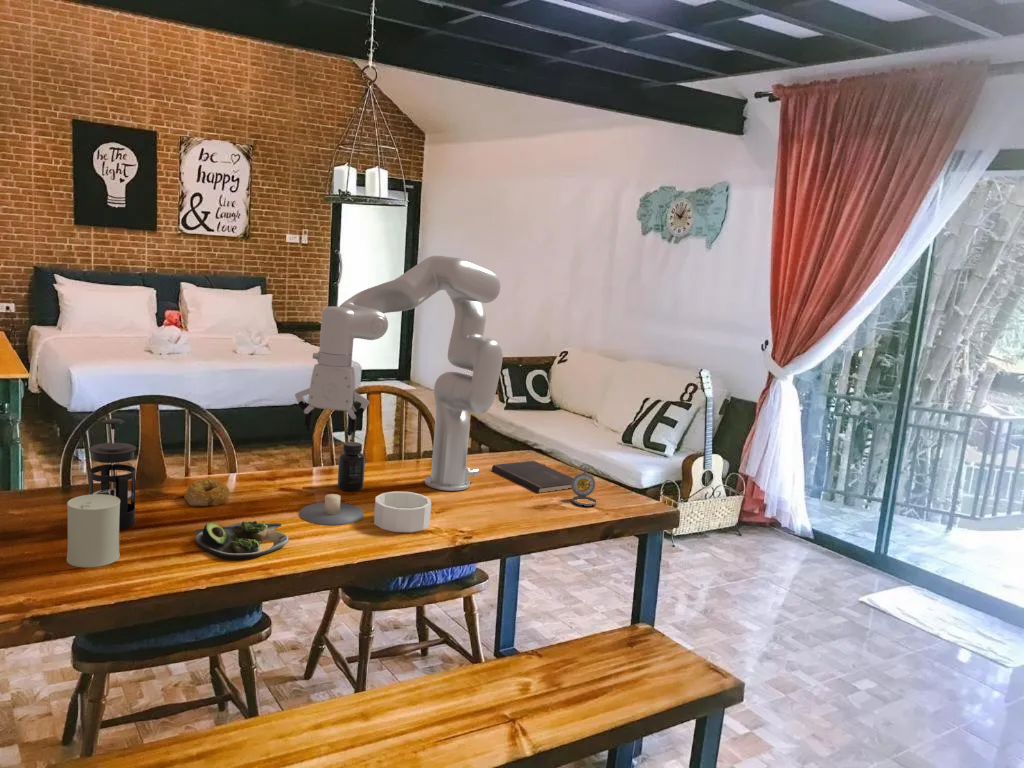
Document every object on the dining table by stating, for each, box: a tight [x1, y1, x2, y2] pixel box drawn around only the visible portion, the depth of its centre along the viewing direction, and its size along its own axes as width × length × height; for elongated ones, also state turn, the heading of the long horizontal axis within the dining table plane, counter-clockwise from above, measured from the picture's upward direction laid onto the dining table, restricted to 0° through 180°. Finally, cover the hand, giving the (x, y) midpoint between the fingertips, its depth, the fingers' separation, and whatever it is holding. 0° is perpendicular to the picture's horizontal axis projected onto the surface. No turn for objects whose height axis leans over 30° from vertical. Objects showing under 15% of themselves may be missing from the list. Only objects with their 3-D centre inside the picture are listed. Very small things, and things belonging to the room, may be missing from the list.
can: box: [66, 494, 121, 569], centre depth 157 cm, size 9×9×12 cm
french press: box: [88, 418, 137, 531], centre depth 174 cm, size 12×9×23 cm
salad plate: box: [192, 520, 289, 561], centre depth 173 cm, size 19×18×5 cm
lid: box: [299, 493, 365, 526], centre depth 194 cm, size 15×15×5 cm
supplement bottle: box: [337, 441, 366, 492], centre depth 215 cm, size 7×7×12 cm
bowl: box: [373, 491, 432, 533], centre depth 193 cm, size 13×13×6 cm
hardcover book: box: [491, 460, 579, 494], centre depth 240 cm, size 16×23×2 cm
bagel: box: [183, 477, 230, 507], centre depth 195 cm, size 10×11×5 cm
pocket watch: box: [571, 463, 598, 507], centre depth 222 cm, size 8×8×10 cm
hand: (329, 432), depth 191 cm, fingers open, 9 cm apart
